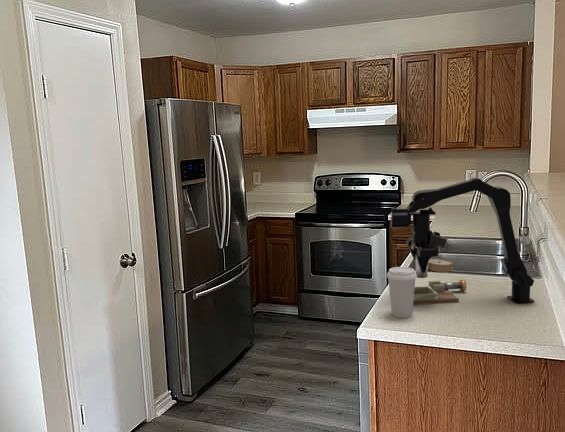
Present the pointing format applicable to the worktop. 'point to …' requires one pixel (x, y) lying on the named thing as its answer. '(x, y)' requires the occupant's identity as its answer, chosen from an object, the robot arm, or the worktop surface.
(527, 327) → the worktop surface
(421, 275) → the grey cylinder
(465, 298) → the worktop surface
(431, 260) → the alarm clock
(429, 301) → the tray
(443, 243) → the robot arm
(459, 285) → the lock pin
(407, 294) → the coffee cup
